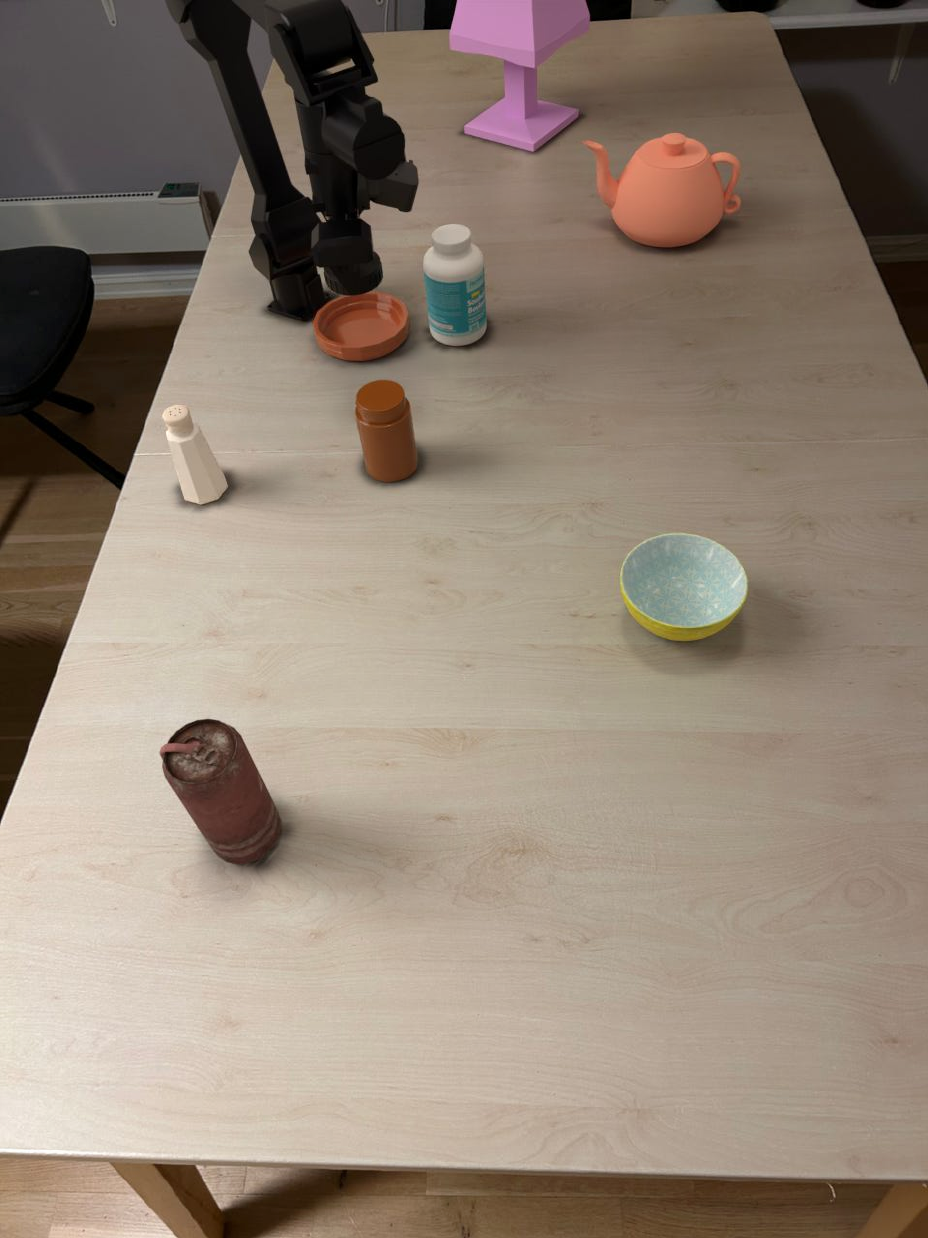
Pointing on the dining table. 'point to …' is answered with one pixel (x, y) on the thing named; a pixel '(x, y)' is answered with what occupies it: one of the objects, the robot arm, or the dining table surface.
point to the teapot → (667, 190)
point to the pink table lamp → (519, 62)
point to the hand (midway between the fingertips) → (353, 277)
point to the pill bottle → (455, 286)
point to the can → (221, 790)
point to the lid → (368, 277)
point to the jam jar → (386, 431)
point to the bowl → (683, 586)
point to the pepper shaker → (193, 458)
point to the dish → (361, 326)
